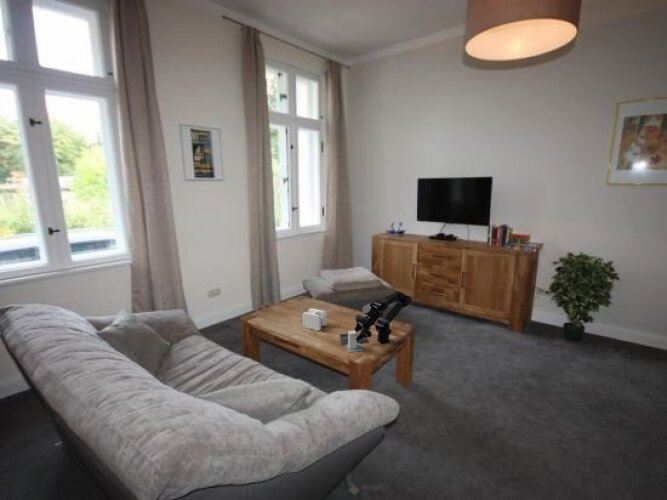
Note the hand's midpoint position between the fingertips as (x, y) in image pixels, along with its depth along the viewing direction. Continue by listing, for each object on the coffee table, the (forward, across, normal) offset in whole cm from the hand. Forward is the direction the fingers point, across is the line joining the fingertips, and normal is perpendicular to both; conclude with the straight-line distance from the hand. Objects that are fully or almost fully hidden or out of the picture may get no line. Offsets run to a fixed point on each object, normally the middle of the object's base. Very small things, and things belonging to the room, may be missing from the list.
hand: (354, 336), depth 218 cm
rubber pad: (+5, +1, +5) cm, 7 cm away
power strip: (+5, -8, +5) cm, 11 cm away
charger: (+6, 0, +4) cm, 7 cm away
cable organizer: (+20, -34, -10) cm, 41 cm away
